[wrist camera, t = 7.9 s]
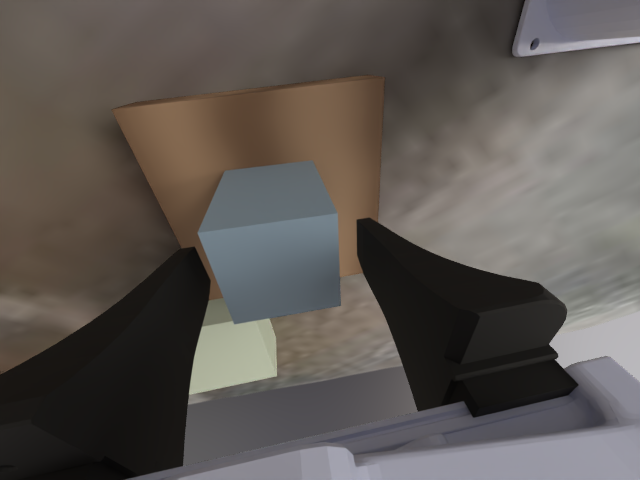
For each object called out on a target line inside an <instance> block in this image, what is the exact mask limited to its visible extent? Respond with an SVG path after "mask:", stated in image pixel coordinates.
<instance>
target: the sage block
mask: <svg viewBox="0 0 640 480" xmlns="http://www.w3.org/2000/svg"><path fill="white" fill-rule="evenodd" d="M275 376H277V359H276V337H275V334H274V331H273V328H272V325H271V322H270V319H263V320H257V321H252V322H246V323H240V324H234V323H233V320H232V318H231V315H230V313H229V310H228V308H227V305H226V303H225V300H224V298H220V299H215V300H209V302H208V306H207V310H206V313H205V317H204V321H203V325H202V328H201V332H200V336H199V340H198V343H197V347H196V351H195V356H194V362H193V368H192V375H191V382H190V390H189V395H190V394H195V393H200V392H204V391H209V390H214V389H219V388H223V387H228V386H233V385H237V384H242V383H247V382H251V381H256V380H261V379H265V378H270V377H275Z"/></svg>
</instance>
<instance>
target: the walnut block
mask: <svg viewBox="0 0 640 480" xmlns="http://www.w3.org/2000/svg"><path fill="white" fill-rule="evenodd" d="M384 87H385V77H380V76H372V75H363V76H355V77H346V78H338V79H329V80H321V81H312V82H304V83H295V84H287V85H278V86H270V87H261V88H253V89H244V90H236V91H227V92H219V93H210V94H201V95H193V96H184V97H176V98H167V99H159V100H150V101H142V102H135V103H132V104H128V105H125V106H122V107H118V108H115V109H112V112H113V114H114V116H115V118H116V120H117V122H118V124H119V126H120V128H121V130H122V132H123V133H124V135H125V137H126V139H127V141H128V143H129V145H130V147H131V149H132V151H133V153H134V155H135V157H136V159H137V161H138V163H139V165H140V167H141V169H142V171H143V173H144V175H145V177H146V179H147V181H148V183H149V185H150V187H151V189H152V191H153V193H154V195H155V197H156V199H157V201H158V202H159V204H160V206H161V208H162V210H163V212H164V214H165V216H166V218H167V220H168V222H169V224H170V226H171V228H172V230H173V232H174V234H175V236H176V238H177V240H178V242H179V244H180V246H181V248H188V247H194V246H195V248H196V250H197V252H198V254H199V257H200V259H201V261H202V263H203V265H204V267H205V269H206V271H207V274H208V276H209V278H210V280H211V284H210V294H209V300H215V299H220V298H223V295H222V293H221V290H220V288H219V285H218V283H217V280H216V278H215V275H214V273H213V270H212V268H211V265H210V263H209V260H208V258H207V255H206V253H205V250H204V248H203V245H202V243H201V240H200V238H199V235H198V231H199V228H200V226H201V224H202V221H203V219H204V217H205V215H206V212H207V210H208V208H209V206H210V203H211V201H212V199H213V196H214V194H215V192H216V190H217V187H218V185H219V183H220V180H221V178H222V176H223V174H224V171H227V170H235V169H244V168H252V167H260V166H269V165H277V164H286V163H294V162H303V161H311V160H313V162H314V164H315V166H316V169H317V171H318V173H319V175H320V177H321V179H322V181H323V183H324V185H325V188H326V190H327V192H328V194H329V196H330V198H331V200H332V202H333V204H334V206H335V209H336V211H337V213H338V236H339V267H340V277H343V276H349V275H354V274H360V273H363V271H362V268H361V266H360V263H359V260H358V257H357V219H363V218H369V217H370V218H371V219H373V220H375V221H376V222H378V209H379V189H380V168H381V148H382V128H383V108H384Z"/></svg>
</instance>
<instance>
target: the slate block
mask: <svg viewBox="0 0 640 480" xmlns="http://www.w3.org/2000/svg"><path fill="white" fill-rule="evenodd" d="M198 235H199V238H200V240H201V243H202V245H203V248H204V250H205V253H206V255H207V258H208V260H209V263H210V265H211V268H212V270H213V273H214V275H215V278H216V280H217V283H218V285H219V288H220V290H221V293H222V295H223V298H224V300H225V303H226V305H227V308H228V310H229V313H230V315H231V318H232V320H233V323H234V324H240V323H246V322H252V321H257V320H263V319H269V318H274V317H280V316H286V315H291V314H297V313H303V312H308V311H314V310H320V309H325V308H331V307H337V306H341V297H340V267H339V236H338V213H337V211H336V209H335V206H334V204H333V202H332V200H331V198H330V196H329V194H328V192H327V190H326V188H325V185H324V183H323V181H322V179H321V177H320V175H319V173H318V171H317V169H316V166H315V164H314V162H313V160H311V161H303V162H294V163H286V164H277V165H269V166H260V167H252V168H244V169H235V170H227V171H224V174H223V176H222V178H221V180H220V183H219V185H218V187H217V190H216V192H215V194H214V196H213V199H212V201H211V203H210V206H209V208H208V210H207V212H206V215H205V217H204V219H203V221H202V224H201V226H200V228H199V231H198Z"/></svg>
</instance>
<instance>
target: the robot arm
mask: <svg viewBox="0 0 640 480" xmlns="http://www.w3.org/2000/svg"><path fill="white" fill-rule="evenodd" d="M532 41H534V42H533V46H532V48H531V49H530V44H531V42H532ZM631 43H640V0H525V3H524V7H523V10H522V14H521V18H520V21H519V25H518V29H517V32H516V36H515V40H514V43H513V47H512V53H513V55H514V56H516V57H524V56H532V55H541V54H549V53H557V52H565V51H574V50H582V49H590V48H598V47H607V46H615V45H623V44H631ZM357 257H358V260H359V263H360V266H361V268H362V271H363V274H364V276H365V278H366V280H367V282H368V284H369V286H370V288H371V290H372V292H373V294H374V296H375V297H376V299H377V301H378V303H379V305H380V307H381V309H382V311H383V314H384V316H385V318H386V320H387V323H388V326H389V328H390V331H391V334H392V336H393V339H394V342H395V344H396V347H397V350H398V353H399V355H400V358H401V361H402V364H403V367H404V370H405V373H406V376H407V379H408V382H409V385H410V388H411V391H412V394H413V397H414V400H415V404H416V407H417V410H418V412H415V413H410V414H406V415H402V416H397V417H393V418H389V419H384V420H380V421H376V422H371V423H367V424H363V425H358V426H354V427H350V428H346V429H341V430H337V431H332V432H328V433H324V434H320V435H316V436H311V437H307V438H302V439H298V440H294V441H290V442H285V443H281V444H276V445H272V446H268V447H263V448H259V449H255V450H250V451H246V452H242V453H237V454H233V455H229V456H224V457H220V458H216V459H212V460H207V461H203V462H198V463H195V464H190V465H186V466H183V456H184V440H185V427H186V417H187V416H186V415H187V406H188V398H189V390H190V382H191V375H192V368H193V362H194V356H195V351H196V347H197V343H198V340H199V336H200V332H201V328H202V325H203V321H204V317H205V313H206V310H207V306H208V302H209V294H210V284H211V280H210V278H209V276H208V274H207V271H206V269H205V267H204V265H203V263H202V261H201V259H200V257H199V254H198V252H197V250H196V248H195V246H194V247H188V248H182V249H179V250H178V251H177V252H176V253H174V254H173V255H172V256H171V257H170V258H169V259H167V260H166V261H165V262H164V263H163V264H162V265H161V266H160V267H159V268H157V269H156V270H155V271H154V272H153V273H152V274H151V275H150V276H149V277H147V278H146V279H145V280H144V281H143V282H142V283H141V284H139V285H138V286H137V287H136V288H135V289H133V290H132V291H131V292H130V293H129V294H127V295H126V296H125V297H124V298H123V299H121V300H120V301H119V302H117V303H116V304H115V305H114V306H112V307H111V308H110V309H108V310H107V311H105V312H104V313H103V314H101V315H100V316H98V317H97V318H96V319H94V320H93V321H91V322H90V323H88V324H87V325H85V326H84V327H82V328H80V329H79V330H77V331H76V332H74V333H73V334H71V335H69V336H68V337H66V338H65V339H63V340H62V341H60V342H58V343H57V344H55V345H53V346H52V347H50V348H48V349H46V350H45V351H43V352H41V353H40V354H38V355H36V356H34V357H32V358H31V359H29V360H27V361H25V362H23V363H22V364H20V365H18V366H16V367H14V368H12V369H10V370H9V371H7V372H5V373H3V374H1V375H0V480H640V382H639V381H638V380H637V379H635V378H634V377H633V376H632V375H631V374H630V373H628V372H627V371H626V370H625V369H624V368H623V367H622V366H620V365H619V364H618V363H617V362H616V361H615V360H613V359H612V358H611V357H608V356H605V357H600V358H596V359H591V360H587V361H582V362H578V363H575V364H572V365H570V366H568V367H566V368H565V369H563V368H562V367H561V366H560V365H559V364H558V363H557V362H556V361H555V359H557V358H558V354H557V352H556V351H555V350H554V349H553V348H552V347H551V346H550V345H549V343H550V342H551V340H552V339H553V337H554V336H555V335H556V333H557V332H558V331H559V329H560V328H561V326H562V325H563V323H564V321H565V320H566V315H567V308H566V306H565V304H564V303H562V302H561V301H560V300H559V299H558V298H556V297H555V296H554V295H553V294H551V293H550V292H549V291H548V290H547V289H545V288H544V287H543V286H542V285H540V284H539V283H536V282H532V281H527V280H522V279H517V278H512V277H507V276H502V275H498V274H494V273H490V272H486V271H483V270H479V269H476V268H472V267H469V266H466V265H463V264H460V263H457V262H454V261H451V260H448V259H446V258H443V257H441V256H438V255H436V254H434V253H431V252H429V251H427V250H425V249H423V248H421V247H419V246H417V245H415V244H413V243H411V242H409V241H407V240H406V239H404V238H402V237H400V236H399V235H397V234H395V233H394V232H392V231H390V230H389V229H387V228H386V227H384V226H383V225H381V224H379V223H378V222H376V221H375V220H373V219H371V218H370V217H369V218H363V219H357Z"/></svg>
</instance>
